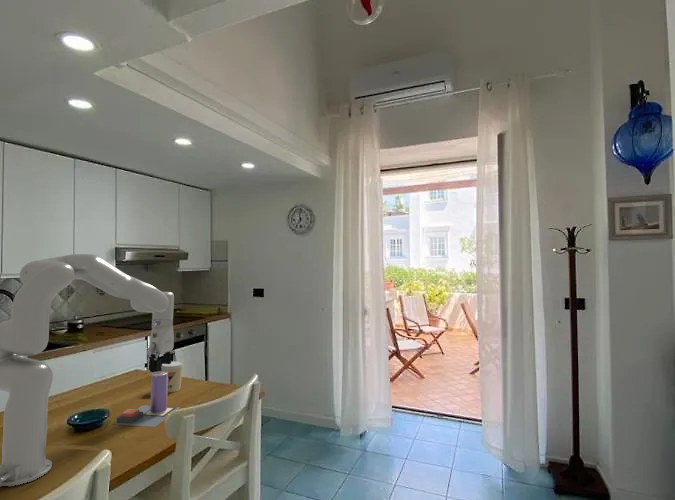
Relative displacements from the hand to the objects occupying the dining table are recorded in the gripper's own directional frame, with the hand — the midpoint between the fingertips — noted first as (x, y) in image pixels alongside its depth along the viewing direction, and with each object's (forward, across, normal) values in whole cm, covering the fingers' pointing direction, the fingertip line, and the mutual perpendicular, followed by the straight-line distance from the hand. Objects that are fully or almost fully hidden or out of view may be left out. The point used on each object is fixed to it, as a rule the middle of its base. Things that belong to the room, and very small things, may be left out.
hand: (160, 367), depth 148 cm
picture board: (+18, -3, +2) cm, 19 cm away
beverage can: (+18, 0, 0) cm, 18 cm away
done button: (+18, -8, +6) cm, 20 cm away
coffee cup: (+18, +28, +10) cm, 35 cm away
